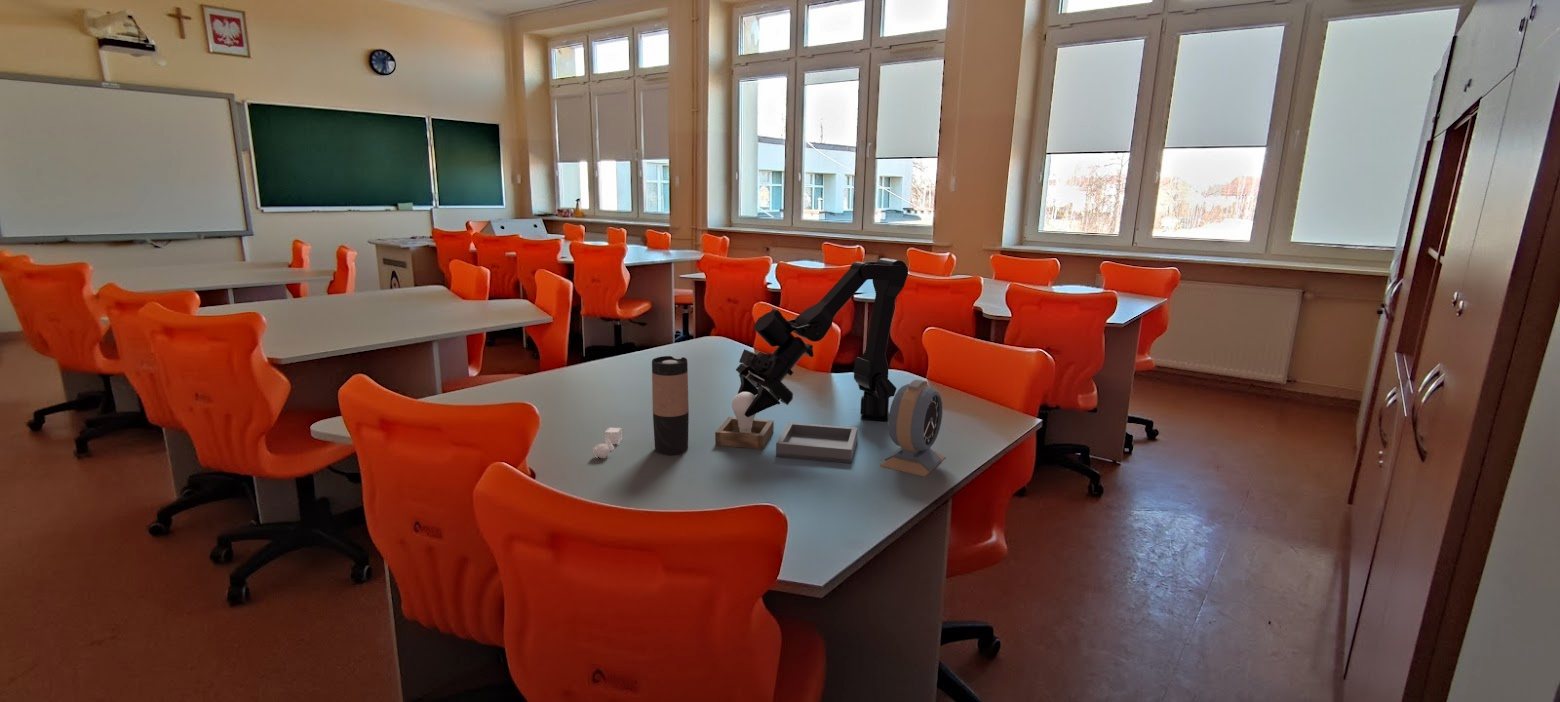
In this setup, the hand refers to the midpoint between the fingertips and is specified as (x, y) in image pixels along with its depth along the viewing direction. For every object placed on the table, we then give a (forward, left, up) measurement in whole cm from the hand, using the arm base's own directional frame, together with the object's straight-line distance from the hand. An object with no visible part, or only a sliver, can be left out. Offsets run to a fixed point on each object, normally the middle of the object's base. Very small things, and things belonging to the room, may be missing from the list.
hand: (739, 411), depth 157 cm
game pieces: (+26, +13, -7) cm, 30 cm away
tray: (-18, +1, -7) cm, 19 cm away
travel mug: (+13, +9, -7) cm, 17 cm away
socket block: (-1, -1, -7) cm, 7 cm away
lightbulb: (-1, -1, -7) cm, 7 cm away
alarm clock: (-39, +4, -7) cm, 40 cm away
